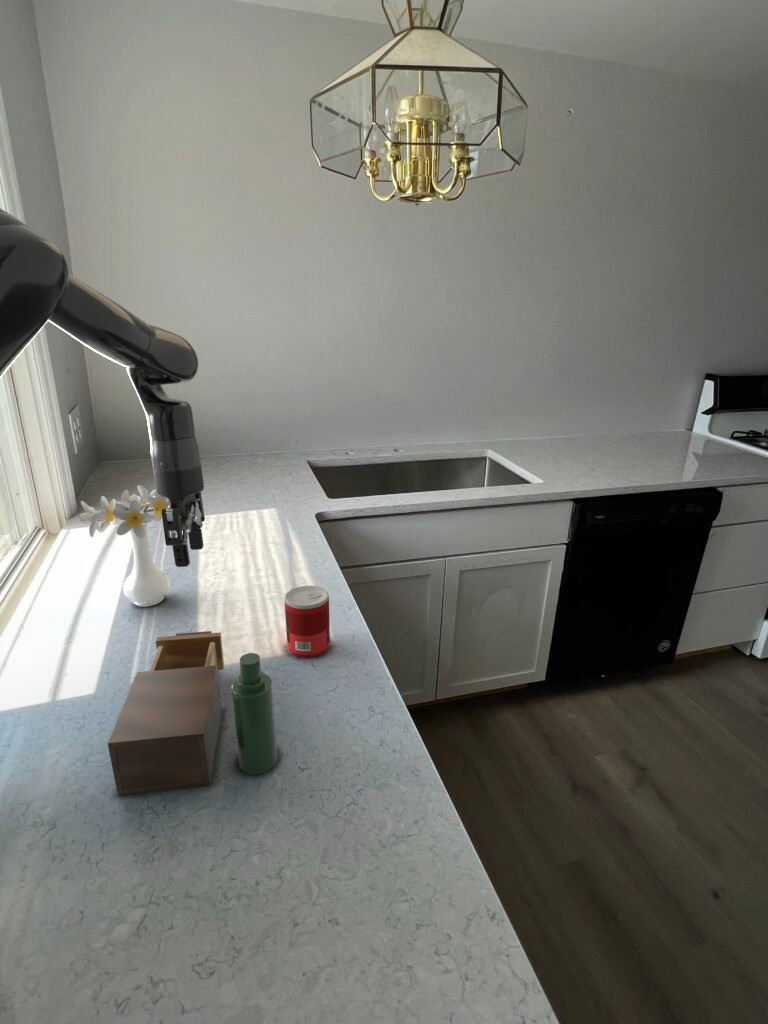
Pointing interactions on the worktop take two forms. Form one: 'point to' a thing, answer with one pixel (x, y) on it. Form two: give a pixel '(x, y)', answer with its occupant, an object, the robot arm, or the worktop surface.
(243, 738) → the bottle
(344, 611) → the worktop surface
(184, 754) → the cabinet
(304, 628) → the canned food
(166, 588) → the flower vase
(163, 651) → the drawer
